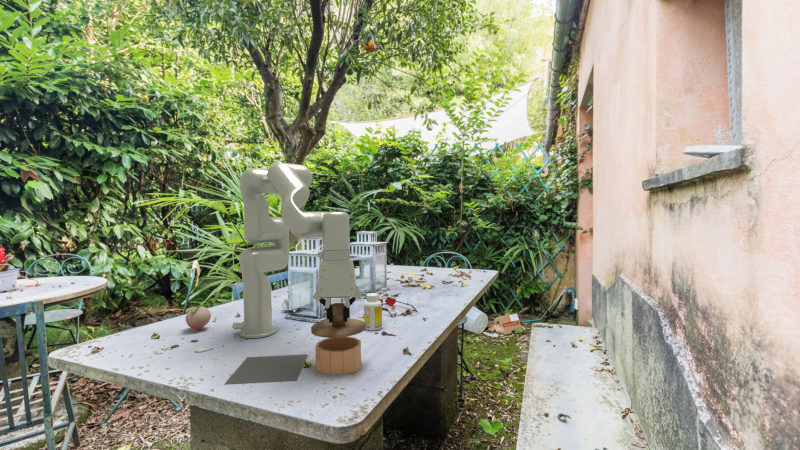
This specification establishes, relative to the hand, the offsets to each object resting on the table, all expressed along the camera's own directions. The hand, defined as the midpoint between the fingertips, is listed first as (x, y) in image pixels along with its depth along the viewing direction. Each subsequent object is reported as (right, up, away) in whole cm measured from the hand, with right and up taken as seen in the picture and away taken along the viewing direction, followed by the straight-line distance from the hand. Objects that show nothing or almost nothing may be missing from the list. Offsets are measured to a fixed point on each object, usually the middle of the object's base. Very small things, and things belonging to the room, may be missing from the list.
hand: (338, 320), depth 104 cm
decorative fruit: (-59, -13, +37) cm, 71 cm away
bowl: (0, -13, +1) cm, 13 cm away
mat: (-19, -14, -1) cm, 23 cm away
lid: (0, -2, 0) cm, 2 cm away
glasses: (+15, -12, +60) cm, 63 cm away
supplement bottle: (+7, -12, +35) cm, 38 cm away
